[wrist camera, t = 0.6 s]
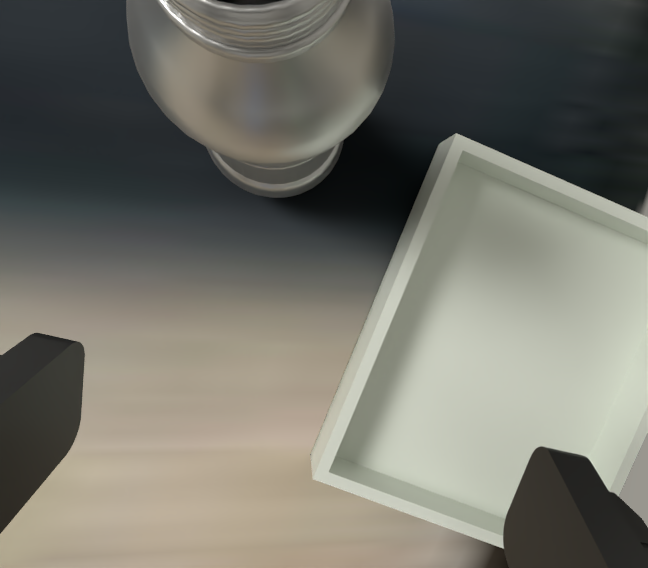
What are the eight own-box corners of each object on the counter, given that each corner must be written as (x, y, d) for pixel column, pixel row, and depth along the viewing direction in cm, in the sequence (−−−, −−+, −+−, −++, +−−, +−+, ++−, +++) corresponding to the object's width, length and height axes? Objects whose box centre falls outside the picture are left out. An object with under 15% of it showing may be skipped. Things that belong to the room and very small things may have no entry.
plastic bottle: (258, 44, 27) (174, -474, 7) (365, 127, 28) (551, -143, 8) (184, 148, 27) (-93, -84, 8) (291, 227, 28) (297, 205, 8)
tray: (438, 144, 28) (456, 133, 25) (684, 251, 30) (729, 253, 27) (310, 454, 29) (312, 478, 26) (553, 543, 31) (582, 577, 28)
